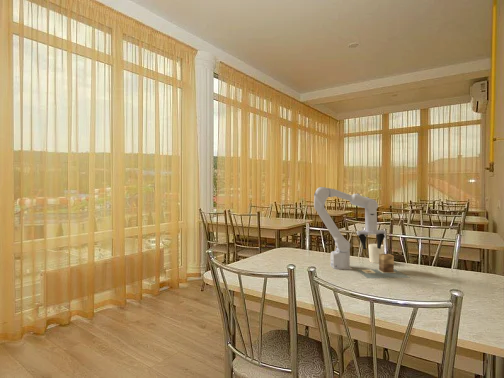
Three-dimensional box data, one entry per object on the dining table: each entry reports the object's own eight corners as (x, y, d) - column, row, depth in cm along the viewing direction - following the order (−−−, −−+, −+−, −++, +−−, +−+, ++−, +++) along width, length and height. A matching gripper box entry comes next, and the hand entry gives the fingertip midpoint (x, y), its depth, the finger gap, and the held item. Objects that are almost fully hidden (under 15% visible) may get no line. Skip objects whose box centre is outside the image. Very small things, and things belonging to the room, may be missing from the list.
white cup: (381, 261, 183) (381, 243, 183) (385, 264, 175) (385, 246, 175) (366, 261, 184) (366, 243, 184) (370, 264, 176) (370, 246, 176)
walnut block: (383, 272, 158) (383, 264, 158) (379, 269, 163) (379, 261, 163) (393, 272, 158) (393, 264, 158) (388, 269, 163) (388, 261, 163)
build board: (367, 279, 149) (367, 278, 149) (355, 270, 164) (355, 269, 164) (410, 278, 149) (410, 277, 149) (394, 270, 164) (394, 268, 164)
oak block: (383, 264, 158) (383, 256, 158) (379, 261, 163) (379, 253, 163) (393, 264, 158) (393, 255, 158) (388, 261, 163) (388, 253, 163)
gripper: (360, 223, 163) (360, 250, 163) (388, 222, 163) (389, 249, 164) (354, 222, 170) (355, 248, 170) (382, 221, 170) (382, 247, 171)
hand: (371, 248), depth 167 cm, fingers open, 7 cm apart
